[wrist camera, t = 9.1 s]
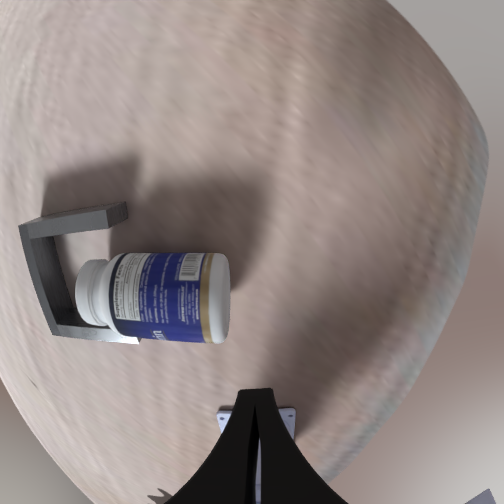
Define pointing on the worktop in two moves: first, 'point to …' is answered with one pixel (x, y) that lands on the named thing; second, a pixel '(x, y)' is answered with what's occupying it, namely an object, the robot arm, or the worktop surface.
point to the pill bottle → (158, 295)
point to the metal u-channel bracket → (50, 274)
